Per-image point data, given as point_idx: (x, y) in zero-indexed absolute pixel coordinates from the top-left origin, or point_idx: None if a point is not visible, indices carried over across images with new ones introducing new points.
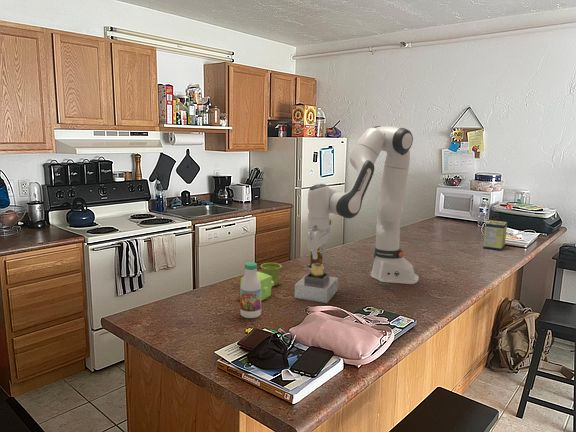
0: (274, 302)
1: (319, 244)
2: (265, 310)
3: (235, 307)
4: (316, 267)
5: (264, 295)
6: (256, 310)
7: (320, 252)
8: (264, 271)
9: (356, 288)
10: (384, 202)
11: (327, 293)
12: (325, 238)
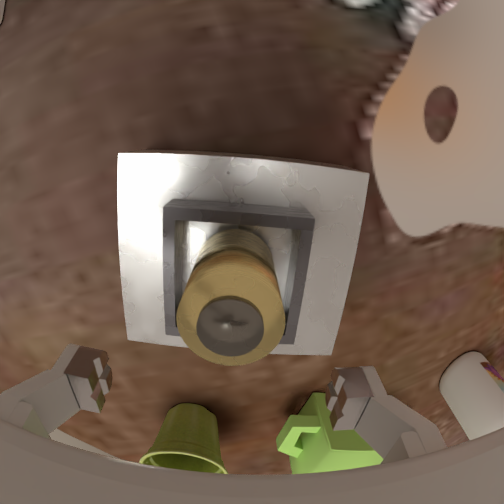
0: (373, 361)
1: (423, 501)
2: (437, 356)
3: None
4: (283, 317)
5: None
6: (490, 364)
7: (108, 379)
8: (220, 471)
9: (85, 74)
10: None
11: (355, 169)
12: (12, 496)
